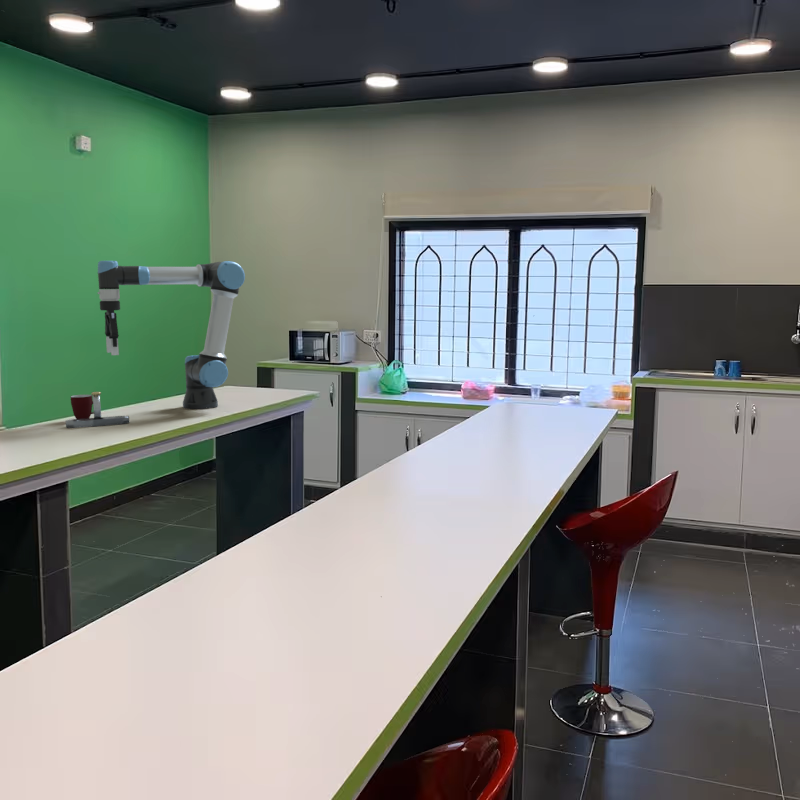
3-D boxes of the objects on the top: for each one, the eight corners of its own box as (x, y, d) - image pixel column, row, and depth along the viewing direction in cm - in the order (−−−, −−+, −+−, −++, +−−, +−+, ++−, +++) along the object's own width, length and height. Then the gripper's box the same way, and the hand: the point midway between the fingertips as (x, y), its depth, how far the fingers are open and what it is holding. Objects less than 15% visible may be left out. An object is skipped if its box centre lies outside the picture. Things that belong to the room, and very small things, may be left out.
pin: (102, 423, 309) (100, 391, 307) (103, 425, 306) (101, 392, 304) (92, 424, 308) (90, 392, 306) (93, 426, 305) (91, 393, 303)
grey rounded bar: (128, 421, 314) (127, 415, 314) (130, 423, 310) (129, 417, 310) (65, 426, 304) (65, 419, 304) (66, 428, 299) (66, 422, 299)
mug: (98, 417, 324) (96, 393, 322) (101, 420, 317) (100, 395, 315) (70, 419, 318) (69, 395, 317) (73, 422, 312) (72, 397, 310)
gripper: (95, 299, 321) (99, 351, 324) (103, 300, 299) (106, 356, 302) (115, 299, 324) (118, 351, 327) (124, 300, 302) (127, 355, 305)
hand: (112, 353), depth 315 cm, fingers open, 13 cm apart
